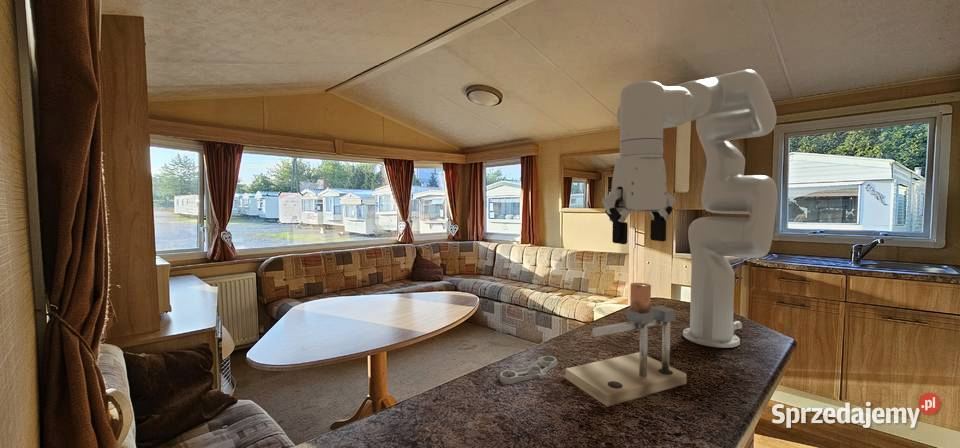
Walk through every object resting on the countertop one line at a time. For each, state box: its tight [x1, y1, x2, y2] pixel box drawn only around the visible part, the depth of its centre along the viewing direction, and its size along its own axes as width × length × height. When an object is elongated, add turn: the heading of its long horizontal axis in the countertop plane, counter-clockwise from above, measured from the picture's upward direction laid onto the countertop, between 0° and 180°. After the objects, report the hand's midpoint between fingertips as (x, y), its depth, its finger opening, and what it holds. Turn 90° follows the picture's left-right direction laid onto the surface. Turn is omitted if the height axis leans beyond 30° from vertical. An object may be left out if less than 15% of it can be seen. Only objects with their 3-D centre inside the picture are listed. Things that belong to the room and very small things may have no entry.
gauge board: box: [564, 351, 687, 407], centre depth 78 cm, size 20×12×2 cm, turn 114°
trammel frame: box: [592, 305, 677, 373], centre depth 75 cm, size 18×4×12 cm, turn 114°
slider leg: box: [626, 282, 653, 377], centre depth 75 cm, size 4×4×18 cm
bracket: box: [499, 355, 558, 385], centre depth 82 cm, size 8×2×15 cm
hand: (639, 242), depth 74 cm, fingers open, 9 cm apart
